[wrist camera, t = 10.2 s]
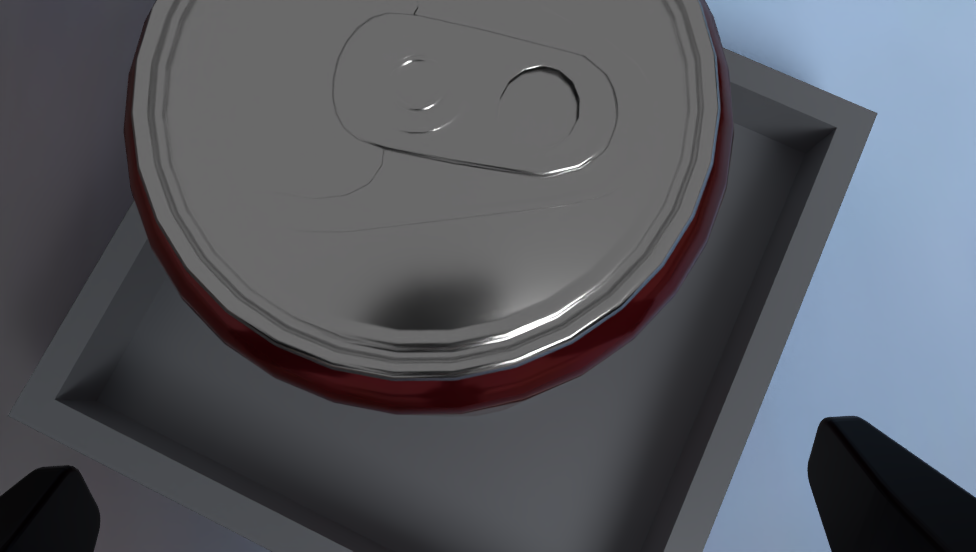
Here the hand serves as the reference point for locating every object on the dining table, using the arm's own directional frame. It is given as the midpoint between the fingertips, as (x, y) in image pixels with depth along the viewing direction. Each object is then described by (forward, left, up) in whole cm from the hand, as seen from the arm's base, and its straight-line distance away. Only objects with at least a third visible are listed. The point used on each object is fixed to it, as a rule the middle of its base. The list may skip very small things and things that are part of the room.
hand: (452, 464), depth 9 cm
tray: (+2, -4, -11) cm, 12 cm away
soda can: (+2, -4, -11) cm, 11 cm away
